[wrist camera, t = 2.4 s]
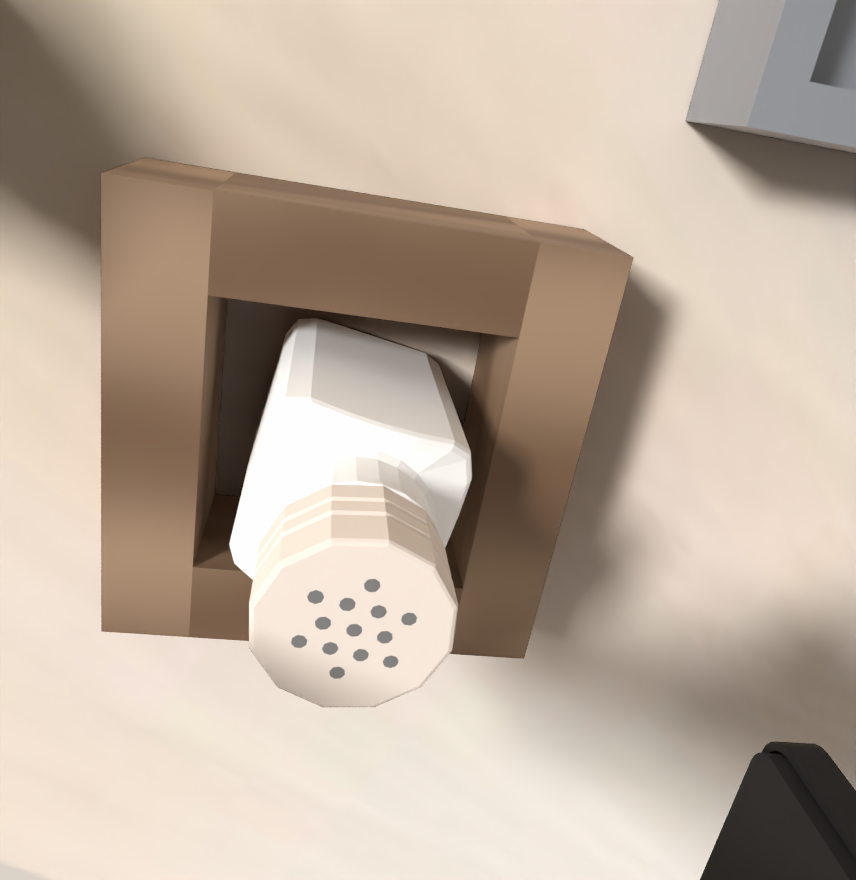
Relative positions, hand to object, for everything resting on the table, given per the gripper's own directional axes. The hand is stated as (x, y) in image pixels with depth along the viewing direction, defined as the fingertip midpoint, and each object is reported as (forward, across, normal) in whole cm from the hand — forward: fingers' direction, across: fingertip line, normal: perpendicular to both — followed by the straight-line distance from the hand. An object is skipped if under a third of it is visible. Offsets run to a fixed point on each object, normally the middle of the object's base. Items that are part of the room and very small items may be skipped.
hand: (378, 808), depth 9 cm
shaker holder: (+12, 0, -1) cm, 12 cm away
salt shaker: (+12, 0, -1) cm, 12 cm away
